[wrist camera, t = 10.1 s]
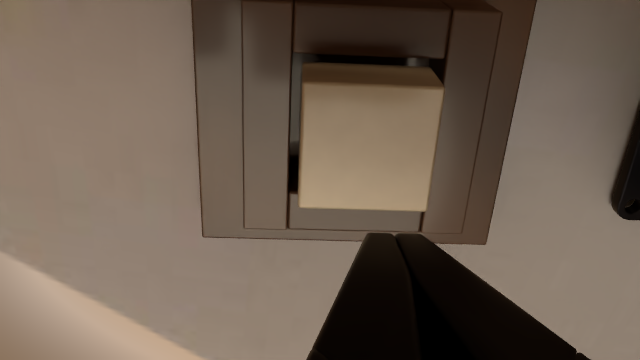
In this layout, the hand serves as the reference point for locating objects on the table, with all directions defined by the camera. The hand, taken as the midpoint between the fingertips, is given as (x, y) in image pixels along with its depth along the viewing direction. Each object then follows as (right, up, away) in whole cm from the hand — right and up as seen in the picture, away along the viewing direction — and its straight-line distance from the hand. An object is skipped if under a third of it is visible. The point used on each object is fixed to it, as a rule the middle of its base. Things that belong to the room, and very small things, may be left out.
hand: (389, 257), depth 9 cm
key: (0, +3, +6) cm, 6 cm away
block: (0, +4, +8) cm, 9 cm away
